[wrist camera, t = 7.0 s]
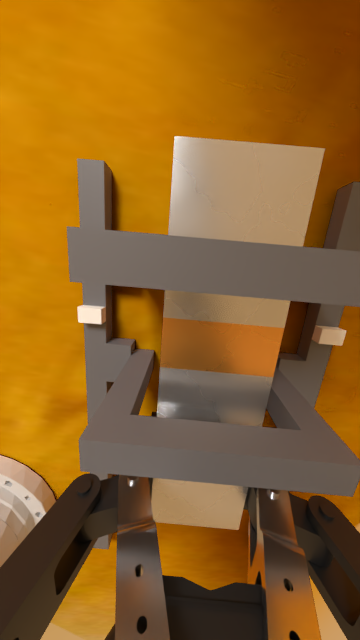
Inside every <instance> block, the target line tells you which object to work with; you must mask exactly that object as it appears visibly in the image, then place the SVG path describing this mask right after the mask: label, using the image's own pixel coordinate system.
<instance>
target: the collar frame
mask: <svg viewBox="0 0 360 640" xmlns="http://www.w3.org/2000/svg"><path fill="white" fill-rule="evenodd" d="M77 161H78V186H79V211H80V228H79V227H67V238H68V256H69V274H70V282H81V283H82V285H83V305H82V306H79V307H78V322H80V323H84V335H85V359H86V384H87V409H88V426H87V427H86V429H85V430H84V432H83V434H82V435H81V437H80V439H79V452H80V470H81V471H85V472H90V474H95V475H96V476H98V477H99V479H100V480H104V479H108V478H112V477H113V474H117V475H128V476H138V477H149V478H160V479H170V480H181V481H192V482H202V483H213V484H223V485H234V486H245V487H255V488H266V489H277V490H287V491H288V492H289V491H298V492H309V493H319V494H330V495H341V496H351V497H353V495H354V492H355V490H356V487H357V485H358V482H359V480H360V460H359V459H358V458H357V457H356V455H355V454H354V453H353V452H352V451H351V450H350V449H349V448H348V446H347V445H346V444H345V443H344V442H343V441H342V440H341V439H340V437H339V436H338V435H337V434H336V433H335V432H334V431H333V430H332V428H331V427H330V426H329V425H328V424H327V423H326V422H325V421H324V419H323V418H322V417H321V416H320V415H319V414H318V413H317V412H316V410H315V409H314V407H315V403H316V400H317V397H318V393H319V390H320V387H321V383H322V380H323V376H324V373H325V370H326V366H327V363H328V360H329V356H330V353H331V350H332V346H333V345H339V346H342V344H343V341H344V338H345V335H346V332H347V331H346V330H343V329H341V328H338V326H339V323H340V319H341V316H342V313H343V309H344V306H356V307H360V182H352V183H350V184H348V185H346V186H344V187H342V188H340V189H338V191H337V195H336V199H335V203H334V207H333V211H332V215H331V219H330V223H329V227H328V231H327V235H326V239H325V243H324V247H323V248H313V247H301V246H289V245H278V244H266V243H254V242H243V241H231V240H219V239H207V238H196V237H184V236H172V235H161V234H149V233H137V232H126V231H114V230H112V170H111V169H110V168H109V167H108V165H107V164H106V163H105V162H104V161H99V160H87V159H77ZM112 285H115V286H127V287H138V288H150V289H161V290H173V291H184V292H196V293H207V294H219V295H230V296H241V297H253V298H264V299H276V300H287V301H299V302H309V306H308V310H307V314H306V318H305V322H304V326H303V330H302V334H301V338H300V342H299V346H298V350H297V354H292V353H281V352H279V354H278V358H277V363H276V367H275V372H274V376H273V381H272V385H271V389H270V394H269V398H268V403H267V407H266V409H267V411H268V412H269V414H270V416H271V418H272V420H273V421H274V423H275V425H276V427H277V428H271V427H260V426H249V425H238V424H227V423H216V422H205V421H194V420H183V419H173V418H162V417H151V416H140V415H138V414H139V411H140V408H141V405H142V402H143V399H144V396H145V392H146V389H147V386H148V383H149V380H150V377H151V374H152V371H153V365H154V350H144V349H135V339H124V338H112ZM112 382H114V383H113V385H112ZM112 534H113V533H111V534H108V535H105V536H102V537H99V538H98V539H97V541H96V543H95V545H94V546H93V548H100V549H109V545H110V542H111V538H112Z"/></svg>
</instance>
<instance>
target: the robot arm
mask: <svg viewBox="0 0 360 640" xmlns="http://www.w3.org/2000/svg"><path fill="white" fill-rule="evenodd" d="M151 417H157V412H152V416H151ZM152 484H153V478H149V477H138V476H128V475H116V476H114V477H112V478H108V479H104V480H100V479H99V477H98V476H96V475H95V474H84V475H81V476H79V477H78V478H76V479H75V480H74V481H73V482H72V483H71V484H70V486H69V487H68V488H67V489H66V490H65V491H64V493H63V494H62V495H61V496H60V497H59V499H58V500H57V501H56V502H55V503H54V504H53V506H52V507H51V508H50V509H49V510H48V512H47V513H46V514H45V515H44V516H43V517H42V519H41V520H40V521H39V522H38V523H37V525H36V526H35V527H34V528H33V529H32V530H31V532H30V533H29V534H28V535H27V536H26V538H25V539H24V540H23V541H22V542H21V543H20V545H19V546H18V547H17V548H16V549H15V551H14V552H13V553H12V554H11V555H10V556H9V558H8V559H7V560H6V561H5V562H4V564H3V565H2V566H1V567H0V640H40V639H41V637H42V635H43V634H44V632H45V630H46V628H47V627H48V625H49V623H50V621H51V620H52V618H53V616H54V614H55V613H56V611H57V609H58V607H59V606H60V604H61V602H62V601H63V599H64V597H65V595H66V594H67V592H68V590H69V588H70V587H71V585H72V583H73V581H74V580H75V578H76V576H77V574H78V573H79V571H80V569H81V567H82V566H83V564H84V562H85V560H86V559H87V557H88V555H89V553H90V552H91V550H92V548H93V546H94V545H95V543H96V541H97V539H98V538H99V537H102V536H105V535H108V534H111V533H115V532H117V568H116V617H115V624H114V626H113V627H112V629H111V631H110V632H109V634H108V635H107V637H106V638H105V640H321V635H320V631H319V625H318V620H317V614H316V609H315V604H314V599H313V594H312V589H311V584H310V578H309V576H310V577H311V579H312V580H313V582H314V584H315V585H316V587H317V589H318V591H319V592H320V594H321V596H322V597H323V599H324V601H325V602H326V604H327V606H328V608H329V609H330V611H331V612H332V614H333V616H334V618H335V619H336V621H337V623H338V624H339V626H340V628H341V629H342V631H343V633H344V634H345V636H346V638H347V639H348V640H360V533H359V532H358V531H357V530H356V529H355V527H354V526H353V525H352V524H351V523H350V522H349V520H348V519H347V518H346V517H345V516H344V515H343V514H342V512H341V511H340V510H339V509H338V508H337V507H336V506H335V505H334V504H333V503H332V502H330V501H329V500H327V499H326V498H324V497H321V496H312V497H310V499H309V501H306V500H304V499H301V498H299V497H297V496H294V495H292V494H290V493H289V492H288V491H287V490H277V489H266V488H255V487H248V491H247V495H246V499H245V504H244V508H243V509H246V510H248V512H249V516H250V518H249V523H248V579H247V584H246V583H233V584H230V585H227V586H224V587H221V588H218V589H215V590H207V589H205V588H203V587H201V586H199V585H197V584H195V583H193V582H191V581H189V580H187V579H185V578H183V577H174V576H164V575H162V570H161V562H160V554H159V546H158V538H157V530H156V524H155V520H153V514H152V505H151V499H152Z"/></svg>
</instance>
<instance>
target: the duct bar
mask: <svg viewBox="0 0 360 640" xmlns="http://www.w3.org/2000/svg"><path fill="white" fill-rule="evenodd" d="M324 151H325V148H316V147H303V146H291V145H279V144H267V143H255V142H242V141H230V140H218V139H206V138H194V137H182V136H175V139H174V155H173V171H172V186H171V202H170V217H169V233H168V235H172V236H184V237H196V238H207V239H219V240H231V241H243V242H254V243H266V244H278V245H289V246H301V247H303V244H304V240H305V235H306V231H307V226H308V222H309V218H310V213H311V209H312V204H313V200H314V196H315V191H316V187H317V182H318V178H319V173H320V169H321V165H322V160H323V156H324ZM289 306H290V301H287V300H276V299H264V298H253V297H241V296H230V295H219V294H207V293H196V292H184V291H173V290H165V296H164V311H163V327H162V343H161V358H160V374H159V390H158V405H157V417H162V418H173V419H183V420H194V421H205V422H216V423H227V424H238V425H249V426H260V427H262V425H263V420H264V416H265V411H266V407H267V403H268V398H269V394H270V389H271V385H272V381H273V376H274V372H275V367H276V363H277V358H278V354H279V350H280V345H281V341H282V336H283V332H284V328H285V323H286V319H287V314H288V310H289ZM247 491H248V487H245V486H234V485H223V484H213V483H202V482H192V481H181V480H170V479H160V478H153V484H152V499H151V505H152V514H153V520H155V522H160V523H170V524H181V525H191V526H202V527H212V528H223V529H233V530H239V526H240V521H241V517H242V513H243V508H244V504H245V499H246V495H247Z"/></svg>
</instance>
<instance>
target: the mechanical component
mask: <svg viewBox="0 0 360 640" xmlns="http://www.w3.org/2000/svg"><path fill="white" fill-rule="evenodd" d="M55 502H56V500H55V498H54V495H53V492H52V491H51V489H50V488H49V487H48V485H47V484H46V483H45V481H44V480H43V479H42V478H41V477H40V476H39V475H37V474H36V473H35V472H33V471H32V470H31V469H29V468H28V467H27V466H25V465H23V464H21V463H19V462H17V461H15V460H13V459H10V458H7V457H4V456H1V455H0V567H1V566H2V565H3V564H4V562H5V561H6V560H7V559H8V558H9V556H10V555H11V554H12V553H13V552H14V551H15V549H16V548H17V547H18V546H19V545H20V543H21V542H22V541H23V540H24V539H25V538H26V536H27V535H28V534H29V533H30V532H31V530H32V529H33V528H34V527H35V526H36V525H37V523H38V522H39V521H40V520H41V519H42V517H43V516H44V515H45V514H46V513H47V512H48V510H49V509H50V508H51V507H52V506H53V504H54V503H55Z"/></svg>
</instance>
